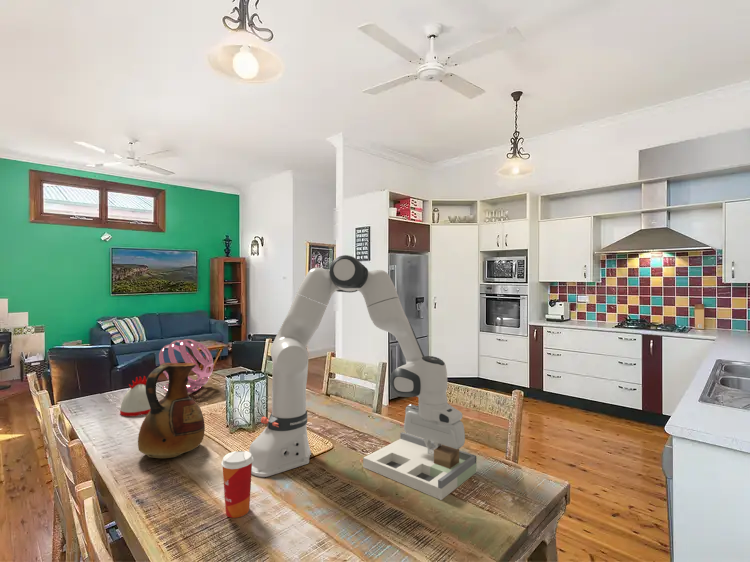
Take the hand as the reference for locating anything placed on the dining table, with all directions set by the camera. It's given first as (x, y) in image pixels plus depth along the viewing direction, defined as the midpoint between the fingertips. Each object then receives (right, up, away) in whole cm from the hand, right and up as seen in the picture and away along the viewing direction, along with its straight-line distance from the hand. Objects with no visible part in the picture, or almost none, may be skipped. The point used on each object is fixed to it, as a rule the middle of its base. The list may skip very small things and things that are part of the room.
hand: (433, 454), depth 125 cm
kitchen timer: (-122, -4, +53) cm, 133 cm away
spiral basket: (-114, -3, +81) cm, 140 cm away
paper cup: (-53, -5, -23) cm, 58 cm away
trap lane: (-5, -4, -1) cm, 6 cm away
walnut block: (+4, -1, -3) cm, 5 cm away
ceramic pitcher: (-86, -4, +11) cm, 87 cm away
